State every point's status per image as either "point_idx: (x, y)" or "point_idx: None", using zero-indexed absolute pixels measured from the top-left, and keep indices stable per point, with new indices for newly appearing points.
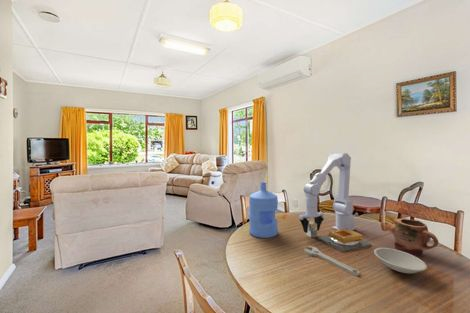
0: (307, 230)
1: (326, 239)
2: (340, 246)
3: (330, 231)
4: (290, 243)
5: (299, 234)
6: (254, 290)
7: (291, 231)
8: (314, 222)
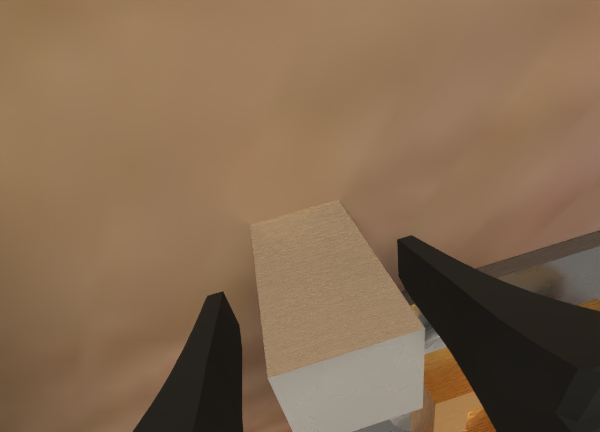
0: (238, 360)
1: None
2: (378, 426)
3: (448, 403)
4: (14, 398)
5: (166, 210)
6: None
7: (42, 76)
8: (417, 379)
